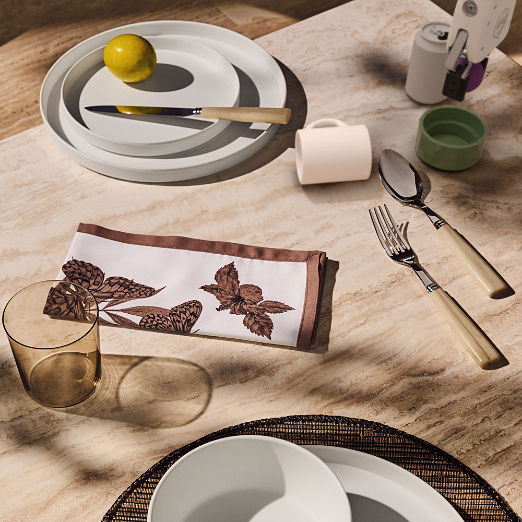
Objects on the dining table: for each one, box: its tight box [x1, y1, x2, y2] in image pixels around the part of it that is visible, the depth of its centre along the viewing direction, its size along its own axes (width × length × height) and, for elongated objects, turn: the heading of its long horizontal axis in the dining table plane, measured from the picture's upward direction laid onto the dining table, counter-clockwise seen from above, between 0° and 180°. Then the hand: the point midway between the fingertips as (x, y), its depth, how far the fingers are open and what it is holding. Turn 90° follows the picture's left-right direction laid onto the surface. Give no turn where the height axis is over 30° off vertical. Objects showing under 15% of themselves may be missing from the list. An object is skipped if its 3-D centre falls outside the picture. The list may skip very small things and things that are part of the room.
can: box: [404, 20, 451, 105], centre depth 112 cm, size 8×8×12 cm
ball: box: [459, 58, 485, 94], centre depth 96 cm, size 5×5×5 cm
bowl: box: [413, 104, 489, 172], centre depth 104 cm, size 10×10×5 cm
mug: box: [294, 117, 373, 185], centre depth 101 cm, size 12×10×8 cm
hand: (462, 87), depth 97 cm, fingers closed on ball, 4 cm apart
